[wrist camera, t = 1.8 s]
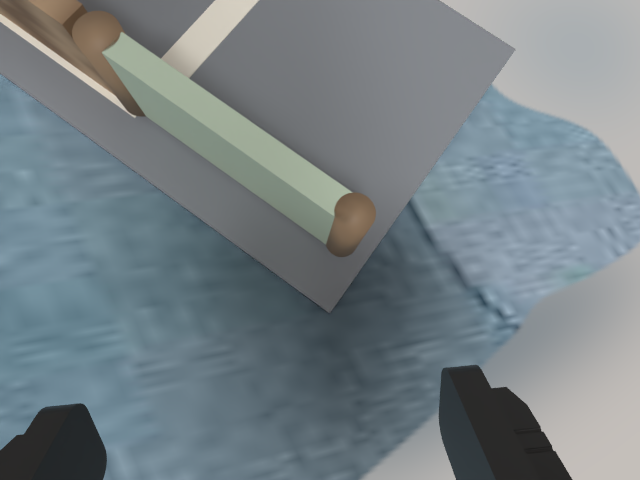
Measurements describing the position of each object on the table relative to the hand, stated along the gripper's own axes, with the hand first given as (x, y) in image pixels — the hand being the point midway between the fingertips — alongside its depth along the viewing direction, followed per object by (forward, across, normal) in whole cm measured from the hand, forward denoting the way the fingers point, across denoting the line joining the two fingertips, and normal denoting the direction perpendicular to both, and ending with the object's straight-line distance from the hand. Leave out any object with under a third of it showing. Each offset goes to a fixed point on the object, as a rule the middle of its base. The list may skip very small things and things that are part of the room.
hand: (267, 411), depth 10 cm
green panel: (+20, +3, 0) cm, 20 cm away
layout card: (+27, +3, -7) cm, 28 cm away
